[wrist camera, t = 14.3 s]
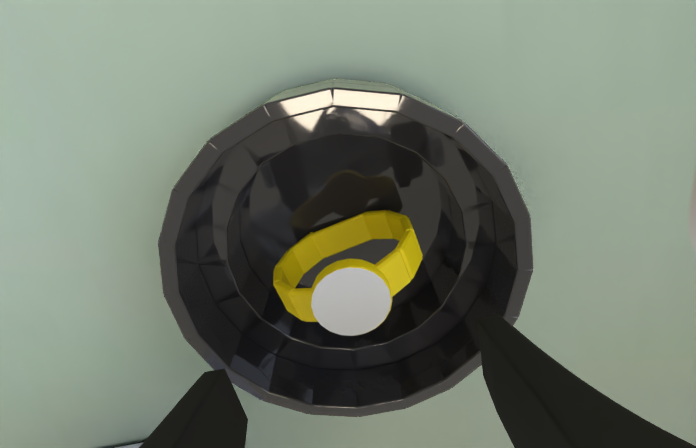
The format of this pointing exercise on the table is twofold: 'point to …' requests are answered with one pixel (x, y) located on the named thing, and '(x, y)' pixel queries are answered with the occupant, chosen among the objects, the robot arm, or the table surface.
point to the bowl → (328, 209)
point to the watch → (349, 273)
